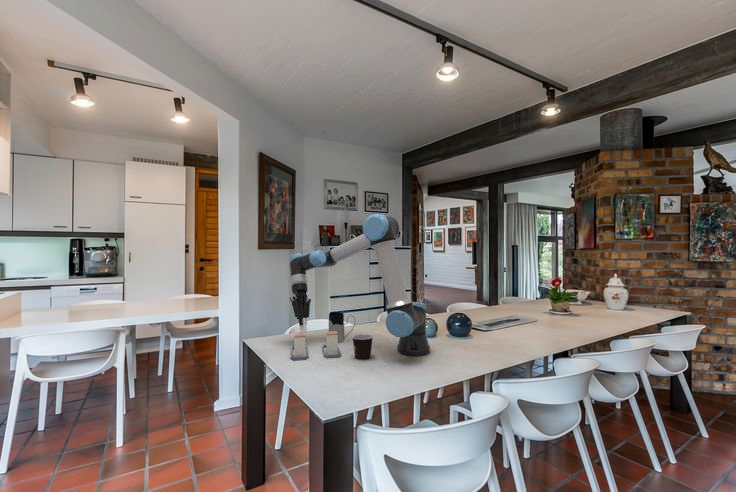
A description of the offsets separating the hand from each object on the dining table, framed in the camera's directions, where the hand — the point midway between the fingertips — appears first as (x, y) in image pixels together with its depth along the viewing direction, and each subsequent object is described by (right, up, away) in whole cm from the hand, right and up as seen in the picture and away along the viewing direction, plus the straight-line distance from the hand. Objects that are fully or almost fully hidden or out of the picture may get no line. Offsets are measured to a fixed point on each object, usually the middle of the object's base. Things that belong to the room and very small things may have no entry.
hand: (303, 332), depth 163 cm
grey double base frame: (+7, -9, -7) cm, 13 cm away
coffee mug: (+28, -9, -12) cm, 32 cm away
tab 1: (+1, -7, -13) cm, 15 cm away
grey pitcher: (+17, -9, +14) cm, 24 cm away
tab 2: (+14, -7, -9) cm, 18 cm away
